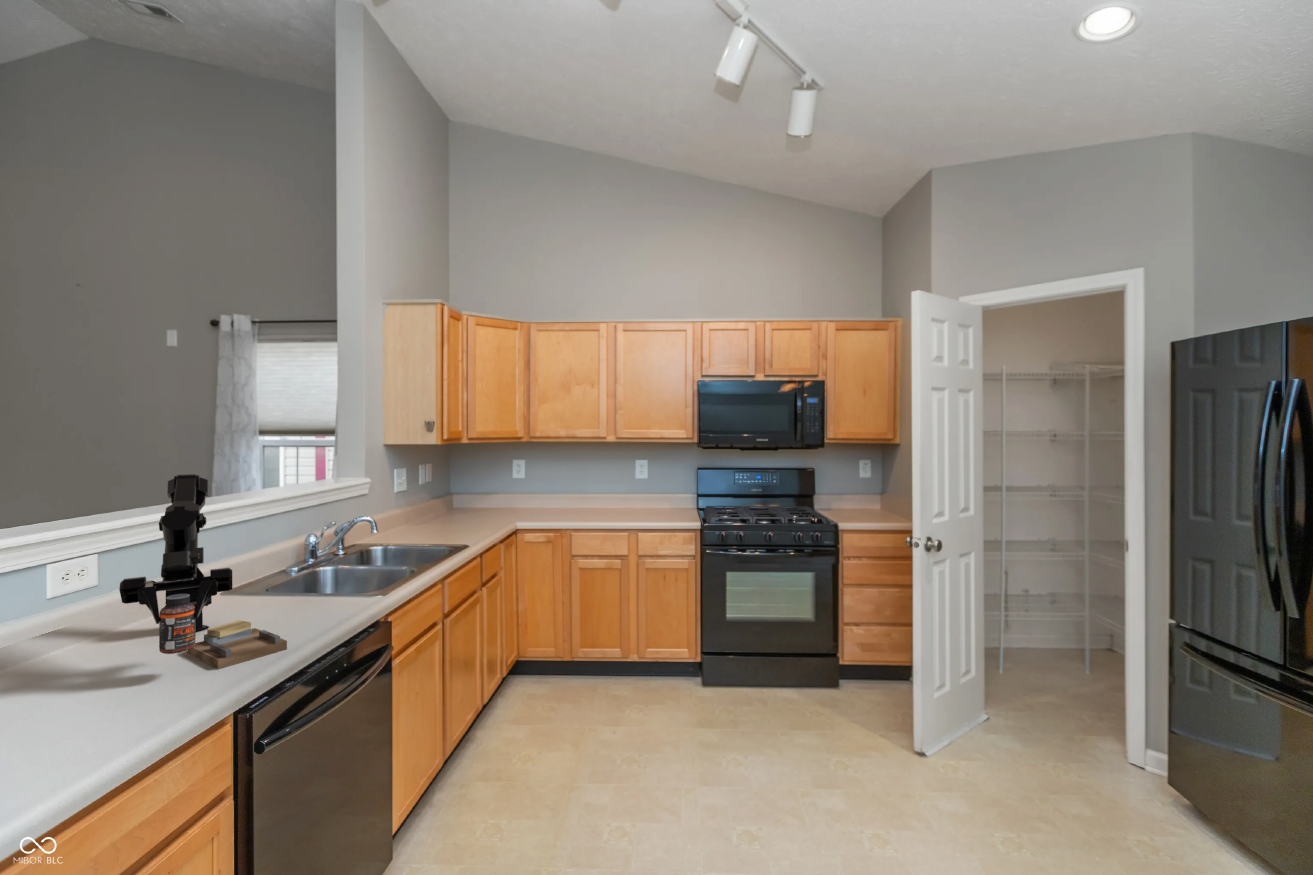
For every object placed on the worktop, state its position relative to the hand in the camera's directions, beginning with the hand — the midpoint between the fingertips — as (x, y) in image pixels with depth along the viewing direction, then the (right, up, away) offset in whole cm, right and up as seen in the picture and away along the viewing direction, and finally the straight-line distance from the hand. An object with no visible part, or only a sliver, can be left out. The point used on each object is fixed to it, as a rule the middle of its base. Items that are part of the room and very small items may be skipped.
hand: (177, 620), depth 123 cm
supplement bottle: (-1, -7, +1) cm, 7 cm away
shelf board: (+2, -12, +15) cm, 20 cm away
